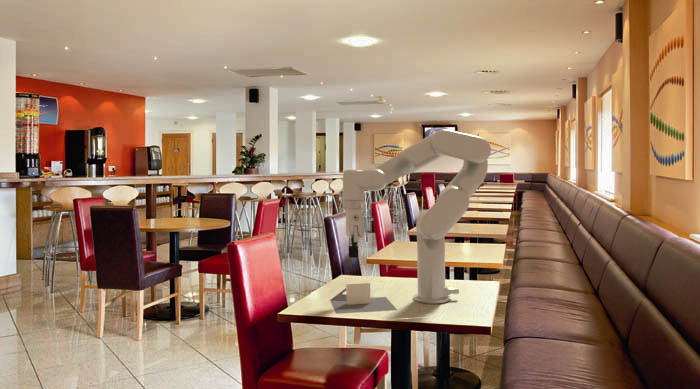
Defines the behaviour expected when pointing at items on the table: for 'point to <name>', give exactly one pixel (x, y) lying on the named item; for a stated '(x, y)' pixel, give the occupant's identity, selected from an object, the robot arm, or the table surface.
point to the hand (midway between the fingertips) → (353, 257)
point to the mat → (363, 306)
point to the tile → (358, 293)
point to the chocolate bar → (340, 296)
